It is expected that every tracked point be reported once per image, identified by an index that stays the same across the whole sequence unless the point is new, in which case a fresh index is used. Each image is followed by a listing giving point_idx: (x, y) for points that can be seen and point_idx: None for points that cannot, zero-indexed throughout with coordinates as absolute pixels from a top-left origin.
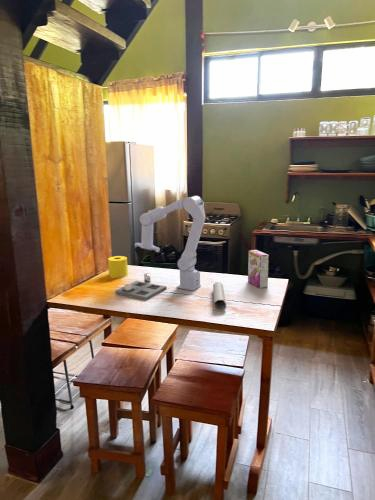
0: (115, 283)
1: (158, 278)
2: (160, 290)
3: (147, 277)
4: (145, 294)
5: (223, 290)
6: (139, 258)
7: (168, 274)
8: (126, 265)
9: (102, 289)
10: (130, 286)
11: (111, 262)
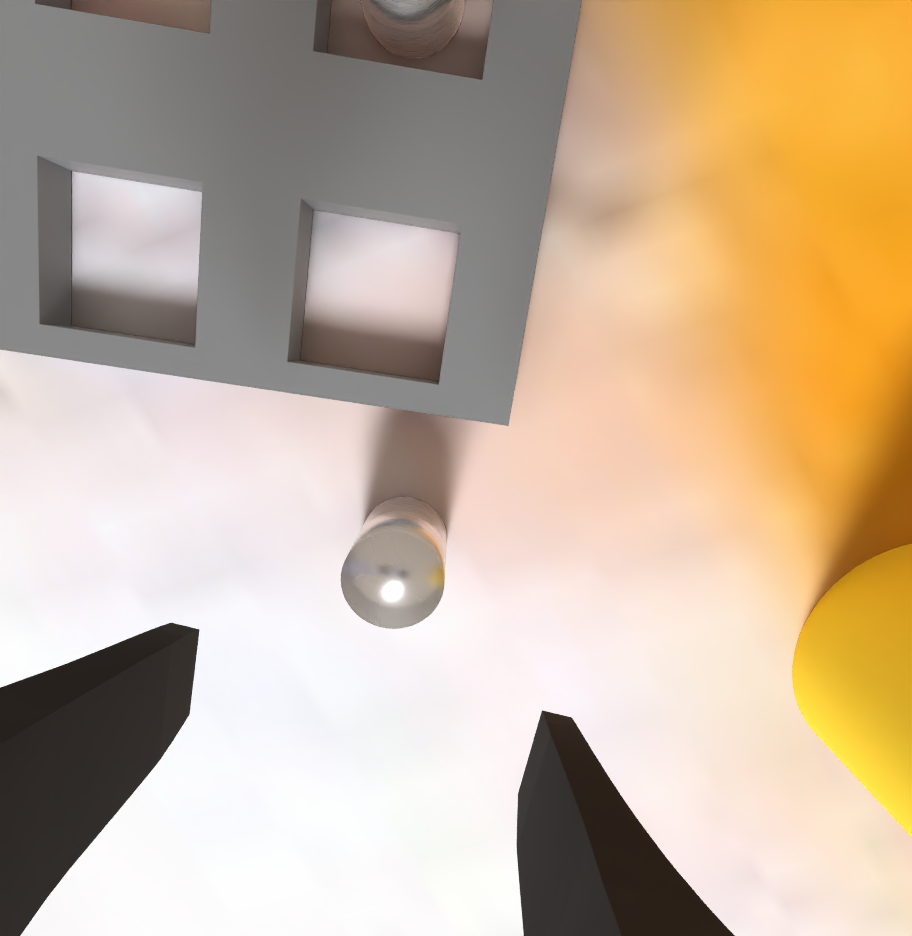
0: (806, 329)
1: (334, 694)
2: None
3: (369, 527)
4: None
5: None
6: (565, 766)
7: (294, 856)
8: (904, 782)
9: (886, 7)
10: None
11: None
